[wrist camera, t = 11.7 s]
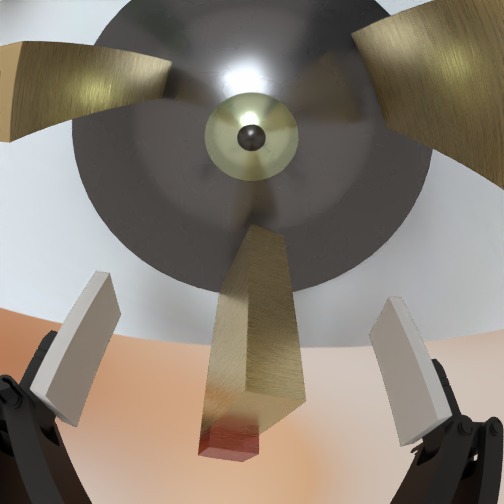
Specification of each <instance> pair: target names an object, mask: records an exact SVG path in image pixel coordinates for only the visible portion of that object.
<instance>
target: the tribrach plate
mask: <svg viewBox="0 0 504 504" xmlns="http://www.w3.org/2000/svg"><path fill="white" fill-rule="evenodd" d="M389 16H391V15H390V14H389V13H388V12H387V11H386V10H385V9H383V8H382V7H381V6H380V5H379V4H378V3H377V2H376V1H375V0H131V1H130V2H129V3H128V4H126V5H125V6H124V7H123V8H122V9H121V10H120V11H119V12H118V13H117V15H116V16H115V17H114V18H113V19H112V20H111V21H110V22H109V24H108V25H107V26H106V27H105V29H104V30H103V32H102V33H101V35H100V36H99V38H98V39H97V41H96V42H95V44H94V46H100V47H106V48H113V49H118V50H124V51H129V52H134V53H139V54H143V55H148V56H152V57H156V58H160V59H164V60H168V61H171V62H172V64H171V67H170V70H169V74H168V78H167V81H166V85H165V89H164V93H163V97H162V99H156V100H150V101H145V102H139V103H134V104H129V105H125V106H120V107H116V108H111V109H107V110H103V111H99V112H95V113H92V114H88V115H84V116H81V117H78V118H74V119H72V138H73V146H74V153H75V159H76V163H77V167H78V170H79V174H80V177H81V180H82V183H83V185H84V187H85V190H86V192H87V194H88V197H89V199H90V200H91V202H92V204H93V206H94V207H95V209H96V211H97V213H98V214H99V216H100V217H101V219H102V220H103V221H104V223H105V224H106V225H107V227H108V228H109V229H110V230H111V232H112V233H113V234H114V235H115V236H116V237H117V238H118V239H119V240H120V241H121V242H122V243H123V244H124V245H125V246H126V247H127V248H128V249H129V250H130V251H132V252H133V253H134V254H135V255H136V256H138V257H139V258H140V259H141V260H143V261H144V262H146V263H147V264H149V265H150V266H152V267H154V268H155V269H157V270H158V271H160V272H162V273H164V274H166V275H168V276H170V277H172V278H174V279H176V280H178V281H181V282H184V283H186V284H189V285H192V286H195V287H198V288H202V289H206V290H210V291H214V292H220V289H221V287H222V285H223V282H224V280H225V278H226V276H227V274H228V272H229V270H230V267H231V265H232V263H233V261H234V259H235V257H236V255H237V252H238V250H239V248H240V246H241V244H242V242H243V240H244V238H245V235H246V233H247V231H248V229H249V227H250V225H251V224H254V225H256V226H259V227H262V228H264V229H267V230H269V231H272V232H275V233H277V234H280V235H282V236H284V242H285V248H286V254H287V261H288V267H289V274H290V280H291V287H292V292H293V291H298V290H302V289H305V288H309V287H312V286H316V285H318V284H321V283H323V282H326V281H328V280H331V279H333V278H335V277H337V276H339V275H341V274H343V273H345V272H347V271H348V270H350V269H352V268H354V267H355V266H357V265H358V264H360V263H361V262H362V261H364V260H365V259H367V258H368V257H370V256H371V255H372V254H373V253H374V252H375V251H377V250H378V249H379V248H380V247H381V246H382V245H383V244H384V243H385V242H386V241H387V240H388V239H389V238H390V237H391V236H392V235H393V234H394V232H395V231H396V230H397V229H398V228H399V227H400V225H401V224H402V222H403V221H404V220H405V218H406V217H407V215H408V214H409V212H410V211H411V209H412V207H413V205H414V203H415V202H416V200H417V198H418V196H419V194H420V192H421V189H422V187H423V184H424V181H425V178H426V175H427V172H428V169H429V165H430V160H431V155H432V150H433V149H432V148H430V147H428V146H426V145H424V144H422V143H420V142H418V141H416V140H413V139H411V138H409V137H407V136H404V135H402V134H400V133H397V132H395V131H392V130H390V129H387V128H386V125H385V122H384V119H383V115H382V112H381V109H380V106H379V103H378V100H377V97H376V94H375V91H374V88H373V86H372V83H371V80H370V77H369V75H368V72H367V70H366V67H365V65H364V62H363V60H362V57H361V55H360V53H359V50H358V48H357V46H356V44H355V41H354V39H353V37H352V35H351V34H352V33H354V32H356V31H358V30H360V29H362V28H364V27H366V26H369V25H371V24H373V23H375V22H378V21H380V20H382V19H385V18H387V17H389Z"/></svg>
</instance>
